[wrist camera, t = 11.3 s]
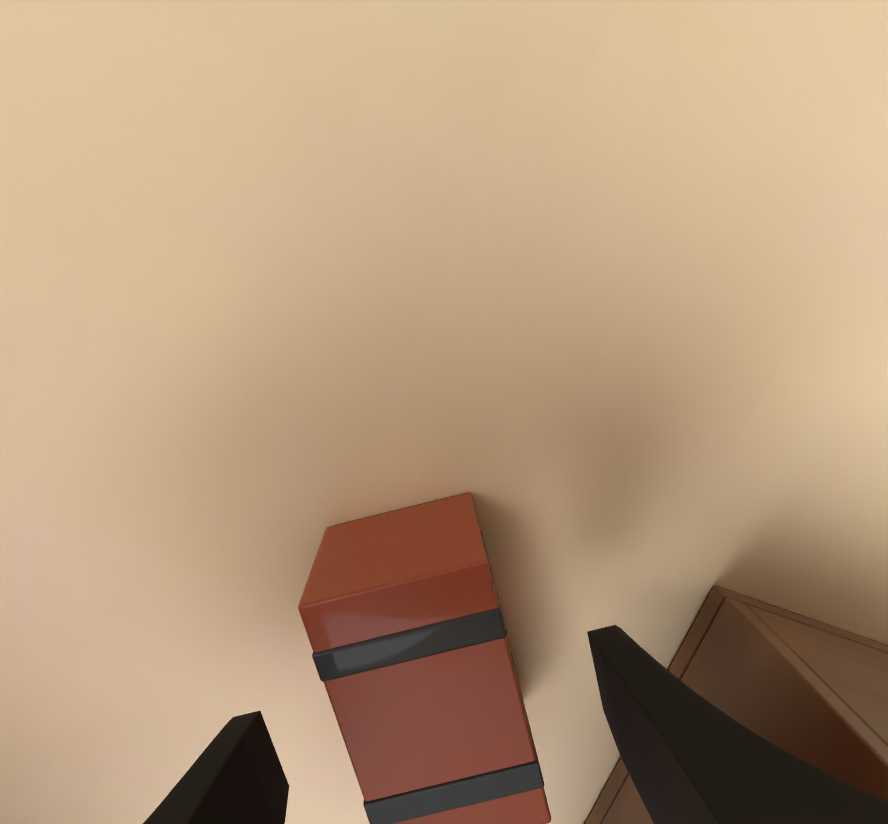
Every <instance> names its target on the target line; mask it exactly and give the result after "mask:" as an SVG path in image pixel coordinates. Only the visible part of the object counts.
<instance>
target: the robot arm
mask: <svg viewBox="0 0 888 824" xmlns="http://www.w3.org/2000/svg"><path fill="white" fill-rule="evenodd" d="M587 633H588V637H589V642H590V647H591V652H592V657H593V662H594V667H595V671H596V676H597V681H598V686H599V691H600V696H601V701H602V705H603V710H604V713H605V716H606V718H607V721H608V724H609V726H610V729H611V732H612V735H613V737H614V740H615V742H616V745H617V748H618V750H619V753H620V756H621V758H622V760H623V762H624V765H625V767H626V769H627V771H628V773H629V775H630V777H631V779H632V781H633V783H634V785H635V787H636V789H637V791H638V793H639V795H640V797H641V799H642V801H643V803H644V805H645V807H646V809H647V811H648V813H649V815H650V817H651V819H652V821H653V823H654V824H888V800H885V799H883V798H881V797H878V796H876V795H874V794H871V793H869V792H867V791H864V790H862V789H860V788H858V787H856V786H854V785H851V784H849V783H847V782H845V781H843V780H841V779H839V778H837V777H835V776H833V775H831V774H829V773H827V772H825V771H823V770H821V769H819V768H817V767H815V766H813V765H811V764H809V763H807V762H805V761H803V760H801V759H799V758H797V757H796V756H794V755H792V754H790V753H789V752H787V751H785V750H783V749H781V748H780V747H778V746H776V745H774V744H773V743H771V742H769V741H768V740H766V739H765V738H763V737H761V736H760V735H758V734H756V733H755V732H753V731H751V730H750V729H748V728H747V727H745V726H744V725H742V724H740V723H739V722H737V721H736V720H734V719H733V718H731V717H730V716H728V715H727V714H726V713H724V712H723V711H721V710H720V709H718V708H717V707H716V706H714V705H713V704H711V703H710V702H709V701H707V700H706V699H704V698H703V697H702V696H700V695H699V694H698V693H696V692H695V691H694V690H692V689H691V688H690V687H688V686H687V685H686V684H685V683H683V682H682V681H681V680H680V679H678V678H677V677H676V676H675V675H673V674H672V673H671V672H669V671H668V670H667V669H666V668H665V667H663V666H662V665H661V664H660V663H659V662H657V661H656V660H655V659H654V658H653V657H652V656H650V655H649V654H648V653H647V652H646V651H645V650H644V649H642V648H641V647H640V646H639V645H638V644H637V643H636V642H635V641H634V640H633V639H632V638H630V637H629V636H628V635H627V634H626V633H625V632H624V631H623V630H622V629H621V628H619V627H618V626H616V625H613V626H609V627H605V628H601V629H597V630H592V631H588V632H587ZM288 791H289V784H288V782H287V779H286V777H285V774H284V772H283V769H282V766H281V764H280V761H279V759H278V756H277V753H276V751H275V748H274V746H273V743H272V740H271V738H270V735H269V733H268V730H267V727H266V725H265V722H264V720H263V717H262V714H261V712H260V711H257V712H253V713H248V714H244V715H240V716H236V717H233V718H232V719H231V720H230V721H229V722H228V723H227V724H226V725H225V726H224V728H223V729H222V730H221V731H220V732H219V734H218V735H217V736H216V737H215V738H214V739H213V741H212V742H211V743H210V744H209V746H208V747H207V748H206V749H205V750H204V752H203V753H202V754H201V755H200V757H199V758H198V759H197V760H196V761H195V763H194V764H193V765H192V766H191V768H190V769H189V770H188V771H187V772H186V774H185V775H184V776H183V777H182V778H181V780H180V781H179V782H178V783H177V784H176V786H175V787H174V788H173V789H172V790H171V792H170V793H169V794H168V795H167V796H166V798H165V799H164V800H163V801H162V803H161V804H160V805H159V806H158V807H157V808H156V809H155V811H154V812H153V813H152V814H151V815H150V816H149V817H148V819H147V820H146V821H145V822H144V823H143V824H284V823H285V816H286V808H287V799H288Z"/></svg>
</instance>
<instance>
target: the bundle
mask: <svg viewBox="0 0 888 824" xmlns="http://www.w3.org/2000/svg"><path fill="white" fill-rule="evenodd" d="M298 609H299V612H300V615H301V618H302V621H303V623H304V626H305V629H306V632H307V635H308V638H309V641H310V644H311V647H312V649H313V654H312V657H313V659H314V662H315V665H316V668H317V671H318V674H319V677H320V679H321V681H323V682H324V684H325V687H326V690H327V693H328V696H329V699H330V701H331V704H332V707H333V710H334V713H335V716H336V719H337V722H338V725H339V727H340V730H341V733H342V736H343V739H344V742H345V745H346V748H347V751H348V753H349V756H350V759H351V762H352V765H353V768H354V771H355V774H356V777H357V779H358V782H359V785H360V788H361V791H362V794H363V797H364V804H363V805H364V808H365V811H366V814H367V817H368V820H369V822H370V824H546V823H549V822H551V815H550V811H549V807H548V803H547V799H546V795H545V791H544V781H543V777H542V773H541V769H540V765H539V761H538V757H537V753H536V749H535V745H534V741H533V737H532V733H531V729H530V725H529V721H528V717H527V714H526V710H525V706H524V702H523V698H522V694H521V690H520V686H519V682H518V678H517V674H516V670H515V666H514V662H513V658H512V654H511V653H510V650H509V645H508V641H507V637H506V634H507V631H506V627H505V623H504V619H503V615H502V611H501V607H500V603H499V599H498V595H497V591H496V587H495V584H494V580H493V576H492V572H491V568H490V564H489V560H488V556H487V552H486V548H485V545H484V541H483V537H482V533H481V531H480V529H479V525H478V521H477V517H476V513H475V509H474V505H473V501H472V497H471V494H470V493H465V494H461V495H457V496H453V497H449V498H445V499H441V500H437V501H433V502H428V503H424V504H420V505H416V506H412V507H408V508H404V509H400V510H396V511H392V512H388V513H384V514H380V515H376V516H372V517H368V518H364V519H360V520H355V521H351V522H347V523H343V524H339V525H335V526H331V527H327V528H326V530H325V533H324V536H323V538H322V541H321V544H320V547H319V550H318V552H317V555H316V558H315V561H314V564H313V566H312V569H311V572H310V575H309V578H308V580H307V583H306V586H305V589H304V592H303V594H302V597H301V600H300V603H299V606H298Z"/></svg>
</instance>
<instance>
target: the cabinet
mask: <svg viewBox="0 0 888 824" xmlns="http://www.w3.org/2000/svg"><path fill="white" fill-rule="evenodd" d="M668 671H669V672H671V673H672V674H673V675H675V676H676V677H677V678H678V679H680V680H681V681H682V682H683V683H685V684H686V685H687V686H688V687H690V688H691V689H692V690H694V691H695V692H696V693H698V694H699V695H700V696H702V697H703V698H704V699H706V700H707V701H709V702H710V703H711V704H713V705H714V706H716V707H717V708H718V709H720V710H721V711H723V712H724V713H726V714H727V715H728V716H730V717H731V718H733V719H734V720H736V721H737V722H739V723H740V724H742V725H744V726H745V727H747V728H748V729H750V730H751V731H753V732H755V733H756V734H758V735H760V736H761V737H763V738H765V739H766V740H768V741H769V742H771V743H773V744H774V745H776V746H778V747H780V748H781V749H783V750H785V751H787V752H789V753H790V754H792V755H794V756H796V757H797V758H799V759H801V760H803V761H805V762H807V763H809V764H811V765H813V766H815V767H817V768H819V769H821V770H823V771H825V772H827V773H829V774H831V775H833V776H835V777H837V778H839V779H841V780H843V781H845V782H847V783H849V784H851V785H854V786H856V787H858V788H860V789H862V790H864V791H867V792H869V793H871V794H874V795H876V796H878V797H881V798H883V799H885V800H888V646H887V645H884V644H881V643H878V642H875V641H873V640H870V639H867V638H864V637H861V636H858V635H855V634H852V633H850V632H847V631H844V630H841V629H838V628H835V627H832V626H830V625H827V624H824V623H821V622H818V621H815V620H812V619H810V618H807V617H804V616H801V615H798V614H795V613H792V612H790V611H787V610H784V609H781V608H778V607H775V606H772V605H770V604H767V603H764V602H761V601H758V600H755V599H752V598H749V597H747V596H744V595H741V594H738V593H735V592H732V591H729V590H727V589H724V588H721V587H718V586H714V587H713V588H712V590H711V592H710V594H709V596H708V598H707V599H706V601H705V603H704V605H703V607H702V609H701V611H700V612H699V614H698V616H697V618H696V620H695V622H694V623H693V625H692V627H691V629H690V631H689V633H688V635H687V636H686V638H685V640H684V642H683V644H682V646H681V647H680V649H679V651H678V653H677V655H676V657H675V659H674V660H673V662H672V664H671V666H670V668H669V670H668ZM585 824H654V823H653V821H652V819H651V817H650V815H649V813H648V811H647V809H646V807H645V805H644V803H643V801H642V799H641V797H640V795H639V793H638V791H637V789H636V787H635V785H634V783H633V781H632V779H631V777H630V775H629V773H628V771H627V769H626V767H625V765H624V762H623V760H622V758H620V760H619V762H618V764H617V766H616V767H615V769H614V771H613V773H612V775H611V777H610V779H609V780H608V782H607V784H606V786H605V788H604V790H603V791H602V793H601V795H600V797H599V799H598V801H597V803H596V804H595V806H594V808H593V810H592V812H591V814H590V815H589V817H588V819H587V821H586V823H585Z"/></svg>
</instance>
